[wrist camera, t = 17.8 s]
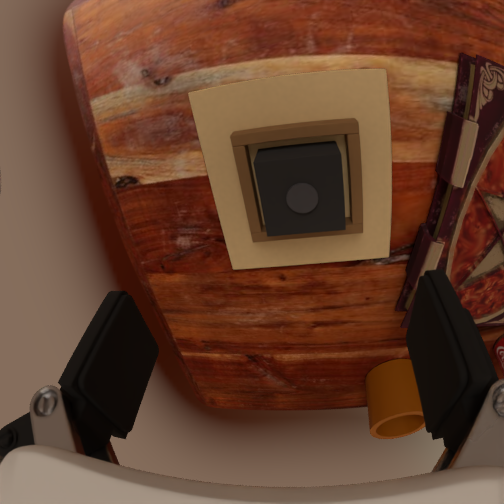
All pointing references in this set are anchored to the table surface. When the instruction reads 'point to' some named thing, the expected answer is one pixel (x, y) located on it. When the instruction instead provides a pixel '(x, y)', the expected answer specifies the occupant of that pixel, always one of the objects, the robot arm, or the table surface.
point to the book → (467, 199)
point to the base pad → (290, 133)
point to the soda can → (500, 352)
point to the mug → (393, 400)
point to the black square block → (301, 188)
